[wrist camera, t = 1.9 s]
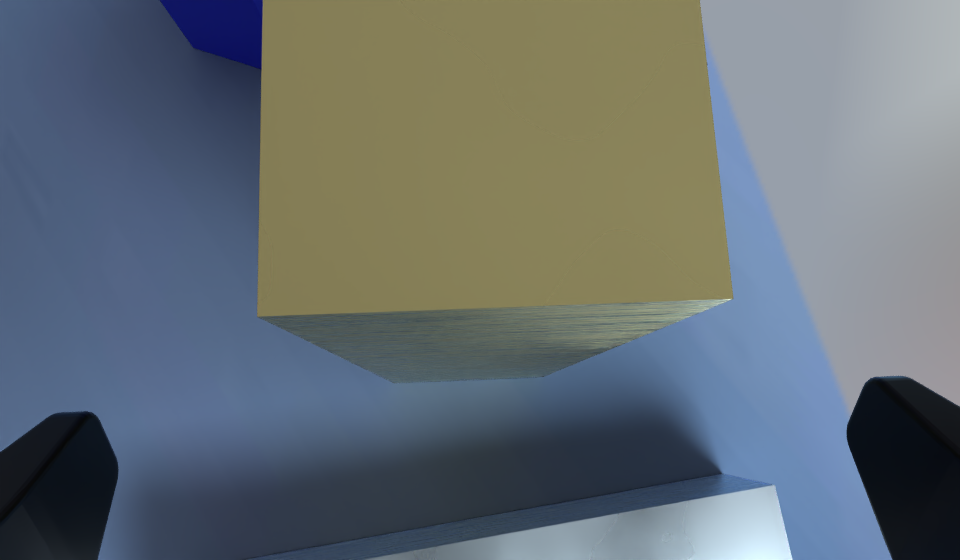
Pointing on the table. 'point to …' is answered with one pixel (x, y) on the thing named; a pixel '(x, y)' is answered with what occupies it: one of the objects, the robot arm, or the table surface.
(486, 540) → the metal frame
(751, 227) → the table surface
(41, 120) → the table surface
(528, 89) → the brass peg
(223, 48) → the cable clip
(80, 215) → the table surface
